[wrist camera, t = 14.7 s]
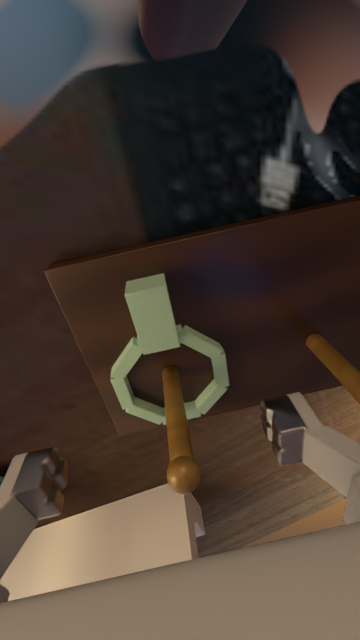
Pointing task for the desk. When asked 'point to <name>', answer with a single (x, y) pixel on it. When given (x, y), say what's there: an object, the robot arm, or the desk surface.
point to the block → (107, 543)
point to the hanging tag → (162, 349)
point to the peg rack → (226, 316)
